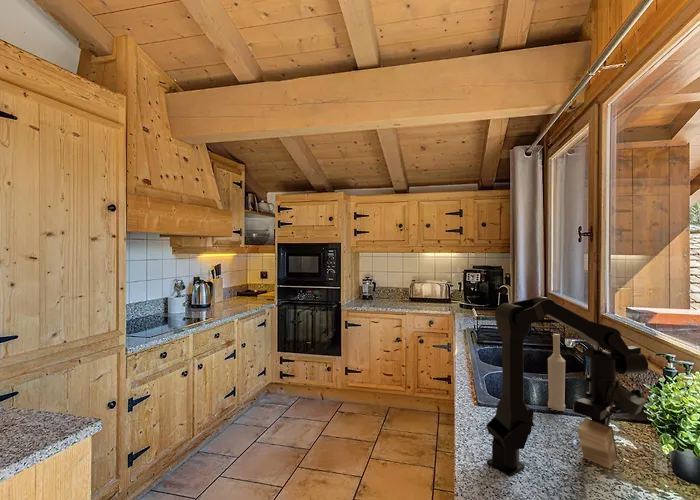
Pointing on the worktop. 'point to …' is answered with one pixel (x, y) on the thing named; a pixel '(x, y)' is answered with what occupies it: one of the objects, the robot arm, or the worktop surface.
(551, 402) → the bottle
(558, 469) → the worktop surface
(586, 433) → the birch block
